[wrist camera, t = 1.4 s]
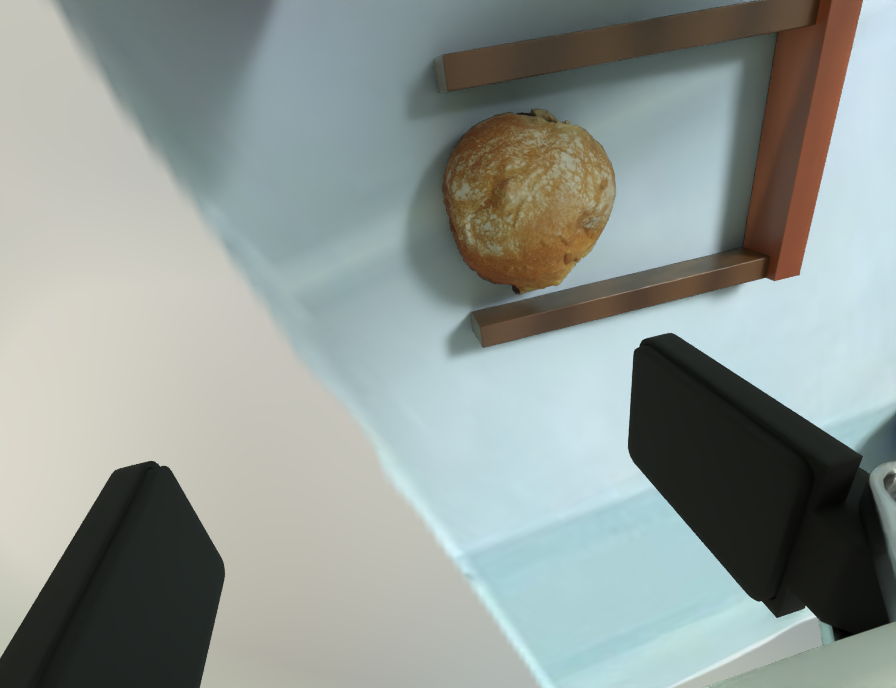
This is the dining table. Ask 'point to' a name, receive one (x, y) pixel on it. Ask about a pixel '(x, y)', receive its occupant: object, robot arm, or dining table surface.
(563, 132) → the bread roll
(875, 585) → the robot arm
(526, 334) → the rectangular frame
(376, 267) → the dining table surface
